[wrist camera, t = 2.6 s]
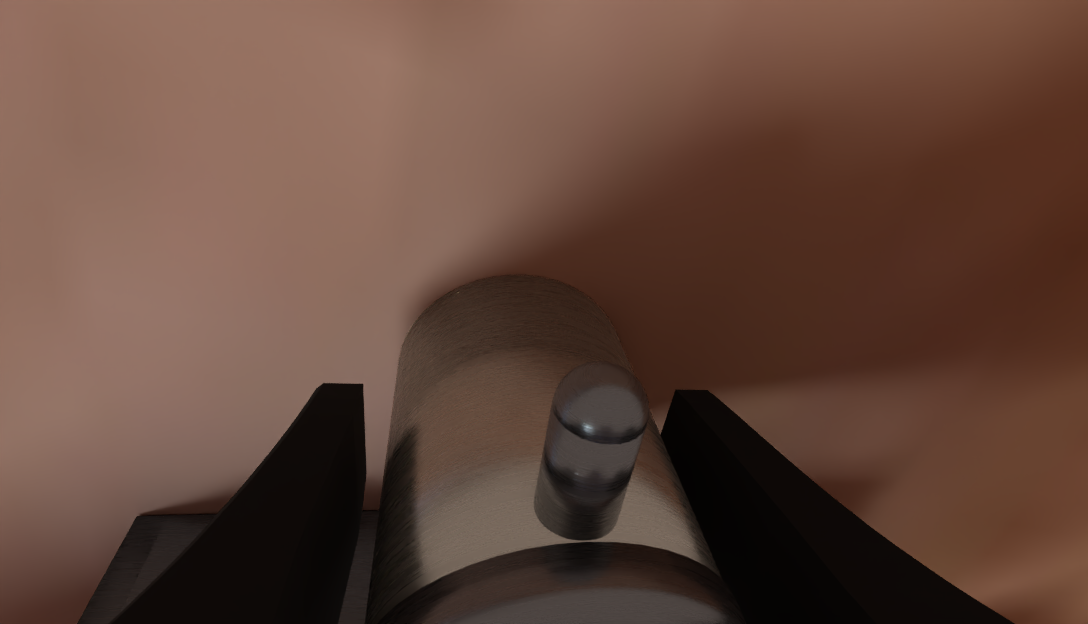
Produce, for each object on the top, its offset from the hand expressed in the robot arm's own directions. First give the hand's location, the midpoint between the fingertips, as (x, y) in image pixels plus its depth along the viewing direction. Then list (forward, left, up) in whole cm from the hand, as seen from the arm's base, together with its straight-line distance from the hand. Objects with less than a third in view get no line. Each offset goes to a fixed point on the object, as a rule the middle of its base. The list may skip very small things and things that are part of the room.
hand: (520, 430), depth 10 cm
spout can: (0, 0, -2) cm, 2 cm away
